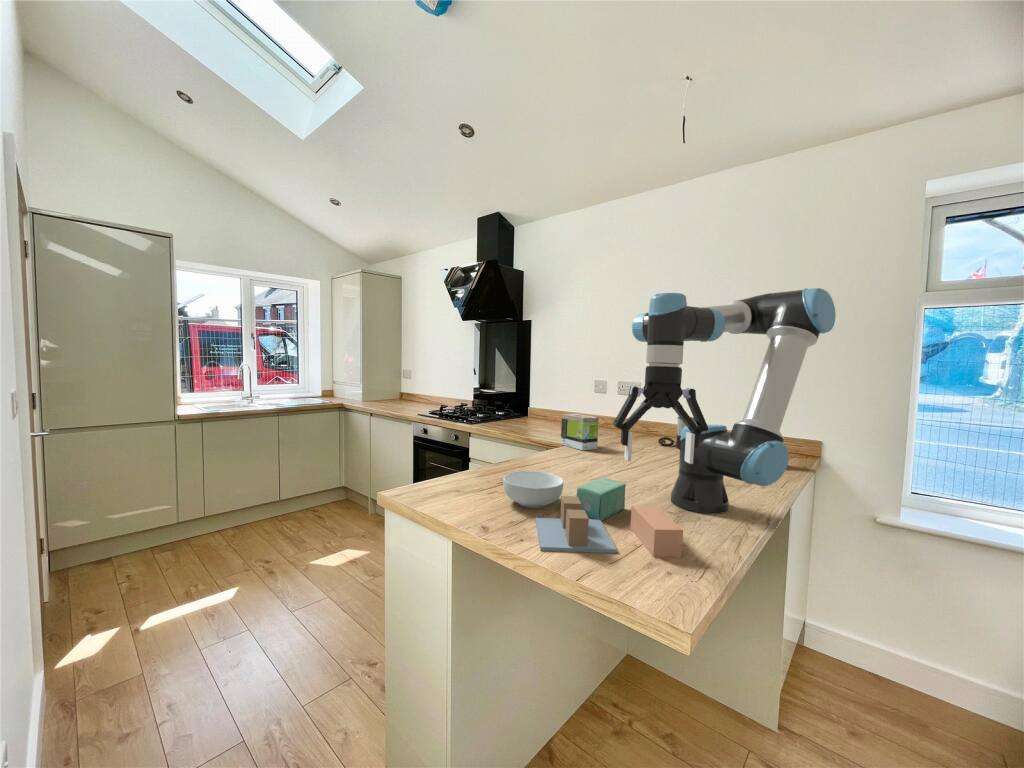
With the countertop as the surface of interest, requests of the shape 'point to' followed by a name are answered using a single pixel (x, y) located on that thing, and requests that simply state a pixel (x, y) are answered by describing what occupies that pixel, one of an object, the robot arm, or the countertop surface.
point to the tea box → (579, 431)
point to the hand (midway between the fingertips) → (658, 461)
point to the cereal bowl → (532, 488)
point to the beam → (656, 531)
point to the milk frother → (679, 431)
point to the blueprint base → (559, 541)
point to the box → (602, 498)
